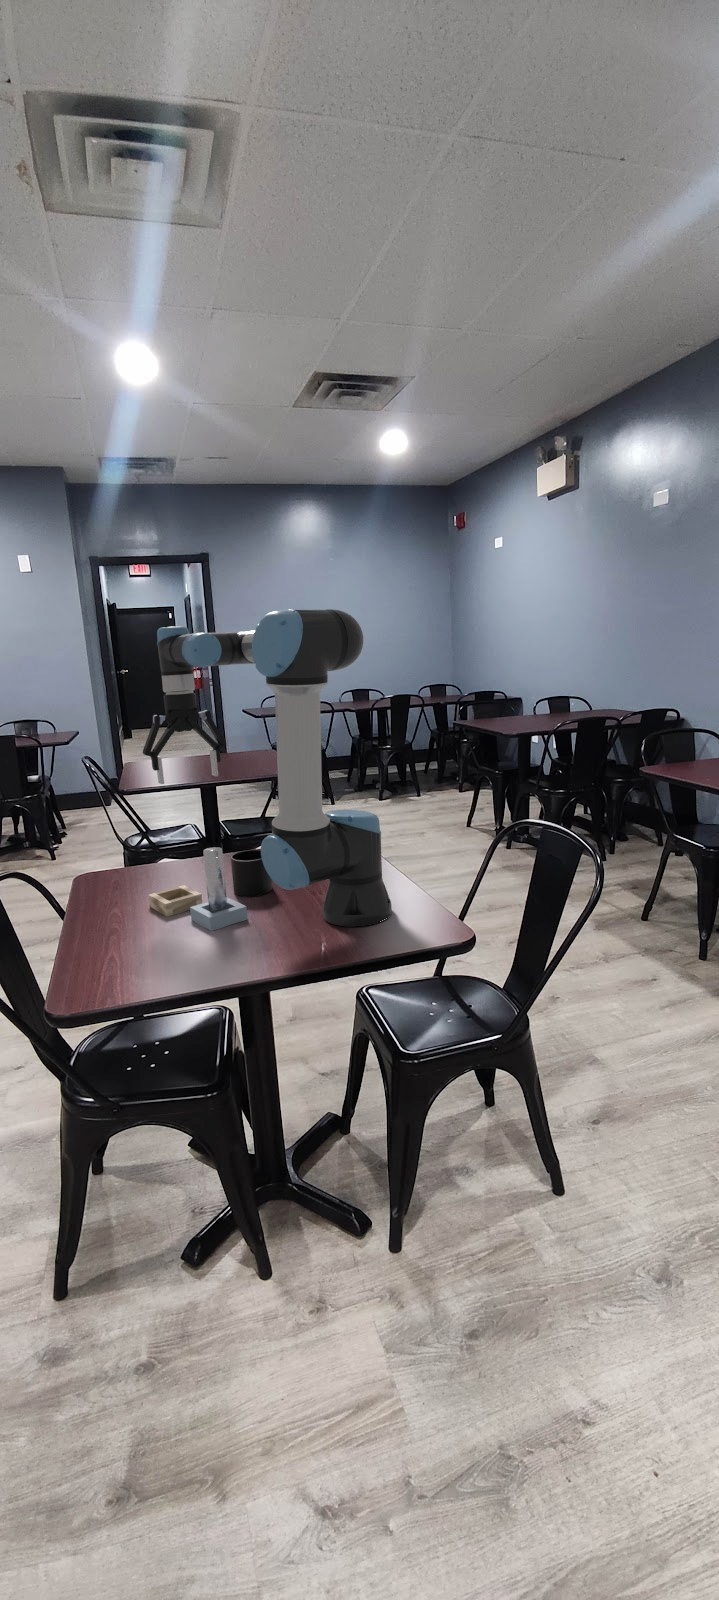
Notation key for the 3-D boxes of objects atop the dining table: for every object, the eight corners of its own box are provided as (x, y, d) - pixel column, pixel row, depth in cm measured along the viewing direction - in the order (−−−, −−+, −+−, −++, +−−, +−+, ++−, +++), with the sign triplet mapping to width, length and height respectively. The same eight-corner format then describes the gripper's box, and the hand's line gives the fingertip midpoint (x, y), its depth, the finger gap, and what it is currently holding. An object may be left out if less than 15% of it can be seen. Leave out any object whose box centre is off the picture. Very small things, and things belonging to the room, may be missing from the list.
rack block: (202, 905, 168) (201, 893, 167) (166, 916, 162) (165, 904, 162) (185, 896, 175) (183, 885, 174) (149, 906, 169) (148, 894, 168)
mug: (268, 879, 185) (265, 845, 183) (275, 894, 173) (272, 858, 171) (231, 883, 183) (228, 849, 181) (235, 899, 171) (232, 863, 169)
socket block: (247, 919, 158) (246, 906, 158) (211, 931, 153) (209, 917, 152) (227, 908, 165) (225, 896, 165) (191, 919, 160) (190, 907, 159)
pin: (231, 919, 159) (225, 849, 155) (215, 924, 156) (208, 853, 153) (222, 914, 162) (216, 846, 158) (206, 919, 159) (199, 850, 156)
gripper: (223, 688, 183) (231, 770, 187) (123, 696, 171) (133, 784, 175) (234, 689, 176) (241, 774, 181) (130, 697, 164) (141, 788, 169)
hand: (188, 779), depth 178 cm, fingers open, 13 cm apart
